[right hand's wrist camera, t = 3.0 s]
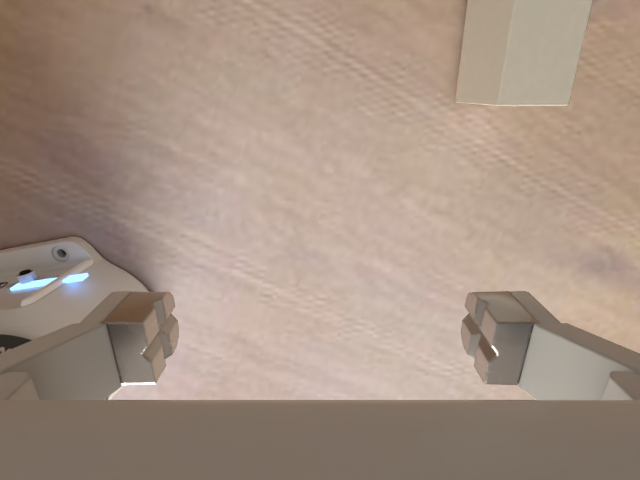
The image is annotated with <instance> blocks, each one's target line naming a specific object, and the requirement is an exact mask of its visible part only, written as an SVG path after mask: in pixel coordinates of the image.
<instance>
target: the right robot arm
mask: <svg viewBox="0 0 640 480" xmlns="http://www.w3.org/2000/svg"><path fill="white" fill-rule="evenodd" d="M62 250H64V251H65V252H66V254H64V253H63V252H62ZM174 307H175V303H174V298H173V295H172V294H171V293H170V292H149V291H148V290H147V289H146V287H145V286H144V285H143V284H142V283H141V282H139V281H138V280H137V279H136V278H135V277H133V276H132V275H130V274H129V273H127V272H126V271H124V270H122V269H121V268H119V267H117V266H115V265H113V264H111V263H110V262H108V261H106V260H105V259H104V258H102V256H101V255H100V254H99V253H98V252H97V251H96V250H95V249H94V248H93V247H92V246H91V245H90V244H89V243H88V242H86V241H85V240H84V239H82V238H80V237H75V236H73V237H66V238H61V239H56V240H51V241H45V242H40V243H35V244H30V245H24V246H19V247H14V248H9V249H3V250H0V480H640V354H639V353H637V352H634V351H632V350H629V349H627V348H625V347H622V346H620V345H618V344H615V343H613V342H610V341H608V340H606V339H603V338H601V337H598V336H596V335H594V334H591V333H589V332H586V331H584V330H582V329H579V328H577V327H575V326H572V325H570V324H567V323H560V322H559V321H558V320H557V319H556V318H555V317H554V316H553V315H552V314H551V313H550V312H549V311H548V310H547V309H546V308H544V307H543V306H542V305H541V304H540V303H539V302H538V301H537V300H536V299H535V298H534V297H533V296H532V295H531V294H530V293H529V292H526V291H511V292H509V291H506V292H472V293H468V296H467V298H466V303H465V307H466V309H467V311H468V312H469V314H468V315H467V316H466V317H465V318H464V319H463V320H462V328H461V336H462V343H463V346H464V349H465V350H466V352H467V354H468V355H469V356H471V357H473V358H474V359H475V363H474V367H475V368H476V370H477V372H478V374H479V375H480V377H481V379H482V381H483V382H484V384H501V385H518V387H520V388H521V389H522V390H524V391H525V392H526V393H528V394H529V395H530V396H532V397H533V398H534V399H535V400H110V399H111V398H112V397H113V396H114V395H115V394H116V393H117V392H118V391H119V390H120V389H121V387H122V386H123V385H138V384H156V383H157V381H158V379H159V377H160V375H161V374H162V372H163V370H164V368H165V367H166V363H165V359H166V358H167V357H169V356H171V355H172V354H173V352H174V350H175V348H176V346H177V342H178V337H179V327H178V320H177V319H176V318H175V317H174V316H173V315H172V314H171V312H172V311H173V309H174Z"/></svg>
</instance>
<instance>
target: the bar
mask: <svg viewBox="0 0 640 480" xmlns="http://www.w3.org/2000/svg"><path fill="white" fill-rule="evenodd" d="M592 1H593V0H468V1H467V10H466V18H465V26H464V34H463V42H462V50H461V59H460V67H459V75H458V83H457V91H456V99H455V102H456V103H466V104H480V105H493V106H568V105H569V102H570V97H571V93H572V88H573V84H574V80H575V75H576V71H577V67H578V62H579V58H580V53H581V49H582V45H583V40H584V36H585V32H586V27H587V23H588V18H589V14H590V10H591V5H592Z"/></svg>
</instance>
